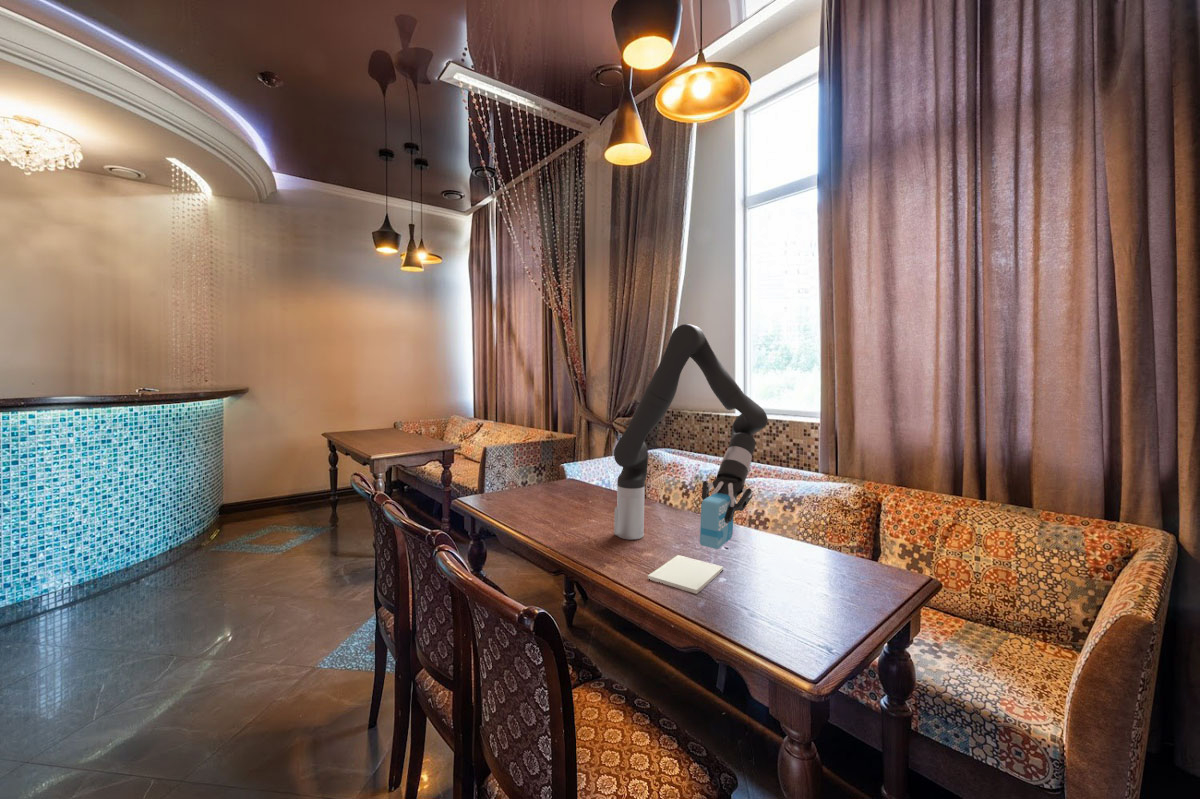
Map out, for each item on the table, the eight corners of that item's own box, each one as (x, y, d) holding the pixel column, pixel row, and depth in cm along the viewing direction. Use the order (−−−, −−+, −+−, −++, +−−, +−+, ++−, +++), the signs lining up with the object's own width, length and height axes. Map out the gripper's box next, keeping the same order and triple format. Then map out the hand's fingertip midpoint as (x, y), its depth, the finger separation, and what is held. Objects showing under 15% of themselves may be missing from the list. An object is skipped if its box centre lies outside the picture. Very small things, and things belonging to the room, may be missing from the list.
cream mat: (648, 579, 124) (648, 575, 124) (678, 558, 139) (678, 554, 139) (696, 593, 116) (696, 590, 116) (723, 570, 131) (723, 566, 131)
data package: (716, 551, 115) (718, 503, 114) (699, 546, 118) (700, 500, 117) (732, 537, 125) (734, 493, 124) (716, 533, 128) (718, 490, 127)
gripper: (707, 455, 132) (687, 506, 123) (758, 462, 123) (740, 517, 114) (713, 470, 136) (695, 521, 127) (763, 478, 128) (746, 533, 119)
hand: (716, 519), depth 121 cm, fingers closed on data package, 4 cm apart
